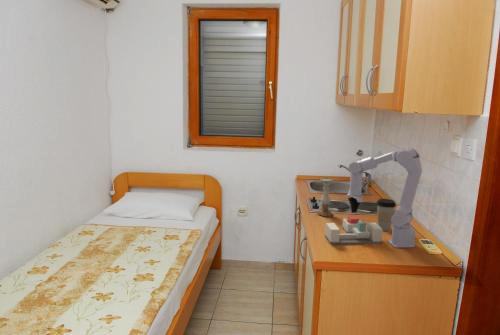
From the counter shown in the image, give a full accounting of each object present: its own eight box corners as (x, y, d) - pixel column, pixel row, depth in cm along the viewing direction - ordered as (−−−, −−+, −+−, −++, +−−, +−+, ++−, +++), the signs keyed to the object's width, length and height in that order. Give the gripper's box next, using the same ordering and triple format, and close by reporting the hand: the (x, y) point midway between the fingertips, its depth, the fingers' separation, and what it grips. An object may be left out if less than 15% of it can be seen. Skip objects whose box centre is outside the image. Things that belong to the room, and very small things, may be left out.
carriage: (364, 233, 190) (365, 219, 188) (369, 239, 183) (371, 224, 181) (352, 234, 189) (353, 219, 188) (357, 239, 182) (358, 224, 181)
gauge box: (357, 228, 202) (358, 218, 201) (363, 233, 195) (363, 224, 194) (342, 228, 202) (343, 218, 201) (347, 233, 194) (348, 224, 193)
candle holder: (335, 215, 222) (338, 180, 218) (322, 217, 218) (324, 181, 214) (327, 211, 230) (329, 177, 226) (314, 212, 226) (315, 178, 222)
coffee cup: (393, 227, 205) (395, 199, 202) (394, 233, 196) (397, 204, 193) (374, 225, 207) (376, 197, 204) (374, 231, 198) (376, 202, 195)
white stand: (373, 235, 192) (374, 222, 190) (381, 243, 182) (382, 229, 181) (324, 236, 190) (325, 222, 189) (330, 244, 180) (331, 230, 179)
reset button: (355, 222, 200) (356, 216, 199) (358, 225, 195) (359, 219, 195) (347, 222, 199) (347, 216, 199) (350, 225, 195) (350, 219, 194)
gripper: (343, 182, 200) (341, 207, 203) (352, 189, 186) (350, 216, 189) (356, 182, 201) (355, 207, 204) (367, 189, 187) (365, 216, 189)
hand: (353, 212), depth 196 cm, fingers closed
